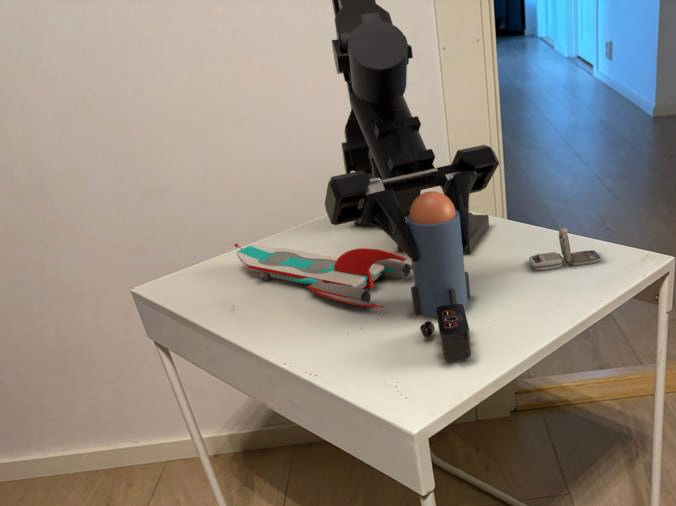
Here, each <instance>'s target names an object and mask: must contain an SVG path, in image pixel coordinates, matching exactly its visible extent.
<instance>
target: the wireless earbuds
mask: <svg viewBox="0 0 676 506" xmlns="http://www.w3.org/2000/svg"><path fill="white" fill-rule="evenodd" d="M436 312H437V317H436V318H437V326H438V327H437V328H438V335H439V341H440V348H441V352H442V358H443V359H444V361H446V362H447V363H451V362H459V361H467V360H470V358H471V357H472V345H471V332H470V326H469V323H468V322H469V321H468V318H467V315H466V309H465V310H464V306H463V305H462V304H451V305H443V306H439V307H437V308H436ZM419 329H420V332H421V334H422V337H424V338H431V337H432V336H433V334H434V333H435V331H436V327H435V324H434V323H433V322H432V321H431V320H427V321H425V322H424V323H422V324H421V325H420V327H419Z"/></svg>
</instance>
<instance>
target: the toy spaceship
mask: <svg viewBox="0 0 676 506" xmlns="http://www.w3.org/2000/svg"><path fill="white" fill-rule="evenodd" d="M234 247H235V248H239V250H237V251H235V254H236V256H237V258H238V259H239V261H240V262H241V263H242V264H243V266H245V267H246V268H247V269H249V270H250V271H252V272H254V273H255V272H256V273H259V276H260V278H261V280H262V281H268V280H269V278H270V277H271V278H273V279H277V280H282V281H288V282H293V283H298V284H305V285H306V284H307V285H306V288H308V289H309V290H310V291H311V292H312V293H314V294H315V295H317V296H321V297H323V298H325V299H328V300H332V301H335V302H340V303H343V304H348V305H353V306H358V307H369V308H381V309H383V308H385V305H380V304H377V303H372V302H371V299H372V296H371V292H370V291H369V290H372V289H373V288H374V283H373V282H375V281H376V280H378V279H379V278H380V276H385V277H393V278H398V279H408V278H409V276H410V275H411V273H412V272H411V271H412V270H413V268H412V263H411V264H410V263H407V262H406V260H407V258H406V257H404V256H402V255H400V254H395V253H393V252H389V251H386V250H382V249H378V248H376V249H375V248H364V247H363V248H362V247H361V248H354V249H351V250H348V251H346V252H344V253H343V254H341V255H340V256H339V257H336V256H330V255H325V254H319V253H313V252H307V251H301V250H296V249H290V248H285V247H273V246H265V245H256V244H251V245H248V246H246V247H244V248H242V247H241V246H240V245H239V243H234ZM404 261H405V262H404Z"/></svg>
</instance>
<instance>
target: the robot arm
mask: <svg viewBox="0 0 676 506" xmlns="http://www.w3.org/2000/svg"><path fill="white" fill-rule="evenodd" d="M331 3H332V7H333V8H332V9H333V14H334V25H335V26H334V27H335V33H336V39H331V45H332V47H331V48H332V52H333V53H332V54H333V59H334V64H335V69H336V74H337V75H341V74H342V75H343V79H344V81H345V83H346V87H347V95H348V98H349V99H348V100H349V104H350V112H349V115H348V118H347V121H346V123H345V127H344V132H343V133H344V140H345V141H343V142H341V151H342V160H343V166H344V171H345V173H344V174H339V175H333V176H331V177H330V179H329V181H328V183H327V187H326V194H325V199H324V207H325V212H326V214H327V217H328V220H329V222H330V224H331V225H333V226H339V225H343V224H347V223H352V222H353V223H354V226H355V227H378V228H379V229H381V230H382V231H383V232H384V233H385V234H387V236H389V238H391V239H392V241H394V243H395V245H396V246H397V245H398V246H399V247H400V248H401V249H402V250H403V251H404V252H403V253H404V254H405V255H407V257H408V258H409V259H410V261H411V260H412V261H413V262H416V261H417V260H418V258H419V256H418V252H417V249H416V245H415V242H414V240H413V237H412V235H411V232H410V230H409V228H408V225H407V222H406V218H407V216H408V215H409V214H410V208H411V205H412V203H413V202H414V200H415V199H416V198H417V197H418V196H419V195H421V194H422V191H423V190H428V189H433V188H437V187H440V188H441V191H442V194H444V195H445V196H447V197H448V198H449V199H450V200H451V202H452V203H453V205H454V208H455V210H457V211H458V212H459V214H460V224H461V235H462V246H463V248H467V247H468V246H469V213H470V206H469V205H470V194H475V193H479V192H482V191H483V190H484V189H487V187H488V185H489V183H490V181H491V180H492V178H493V175H494V174H495V172H496V170H497V168H498V167H499V165H500V162H499V159H498V157H497V155H496V152H495V150H494V149H493V148H491V146H488V145H486V144H481V145H477V146H471V147H467V148H463V149H458V150H457V151H456V153H455V155H454V157H453V160H452V162H451V164H447V165H443V166H438V167H435V165H434V161H435V159H436V155H435V152H434V150H433V149H432V148H428V149H427V147H426V145H425V142H424V140H423V138H422V135H421V133H420V128H421V125H422V123H421V121H420V118H419V116H418V115H417V116H413V115H412V112H411V110H410V108H409V106H408V103H407V101H406V99H405V96H404V94H405V93H406V89H407V79H408V78H407V76H408V75H407V73H408V71H407V70H408V65H409V64H410V59H414V56H413V48H412V45H410V44H409V43H408V40H407V37H406V35H405V34H404V33H403V32H402V30H401V29H399V28H398V27H397V26H396V25H395V24H393V21H392V17H391V14H390V13H389V12H388V11H387V9H385V8H383V7H382V6H380V5H379V4H377V2H376V0H331ZM398 246H397V247H398ZM412 261H411V262H412Z"/></svg>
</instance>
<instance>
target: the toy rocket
mask: <svg viewBox="0 0 676 506" xmlns="http://www.w3.org/2000/svg"><path fill="white" fill-rule="evenodd" d="M405 220H406V223H407V225H408V228H409V230H410V232H411V235H412V237H413V240H414V242H415V245H416V249H417V252H418V256H419V258H418V260H417V261H416V262H413V261H412V260H411V259H410V261H411V265H412V268H413V269H412V274H413V283H414V286H411V287H410V293H411V299H412V307H413V313H414V315H416V316H417V315H420V314H421V315H422V316H426V317H429V318H437V312H436V308H437V307H439V306H443V305H451V304H462V305H463V306H464V310H465V311H466V309H467V307H468V304H469V302H468V301H469V300H471V288H470V279H469V272H468V271H466V269H465V260H464V254H463V246H462V235H461V224H460V214H459V212H458V211H457V210H455V208H454V205H453V203H452V202H451V200H450V199H449V198H448V197H447V196H445V195H444V193H443V192H440V191H434V190H433V191H426V192H425V191H424V192H423V193H421V194H420V195H419V196H418V197H417V198H416V199H415V200H414V202H413V203H412V205H411V208H410V214H409V215H408V216H407V217H405Z"/></svg>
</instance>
